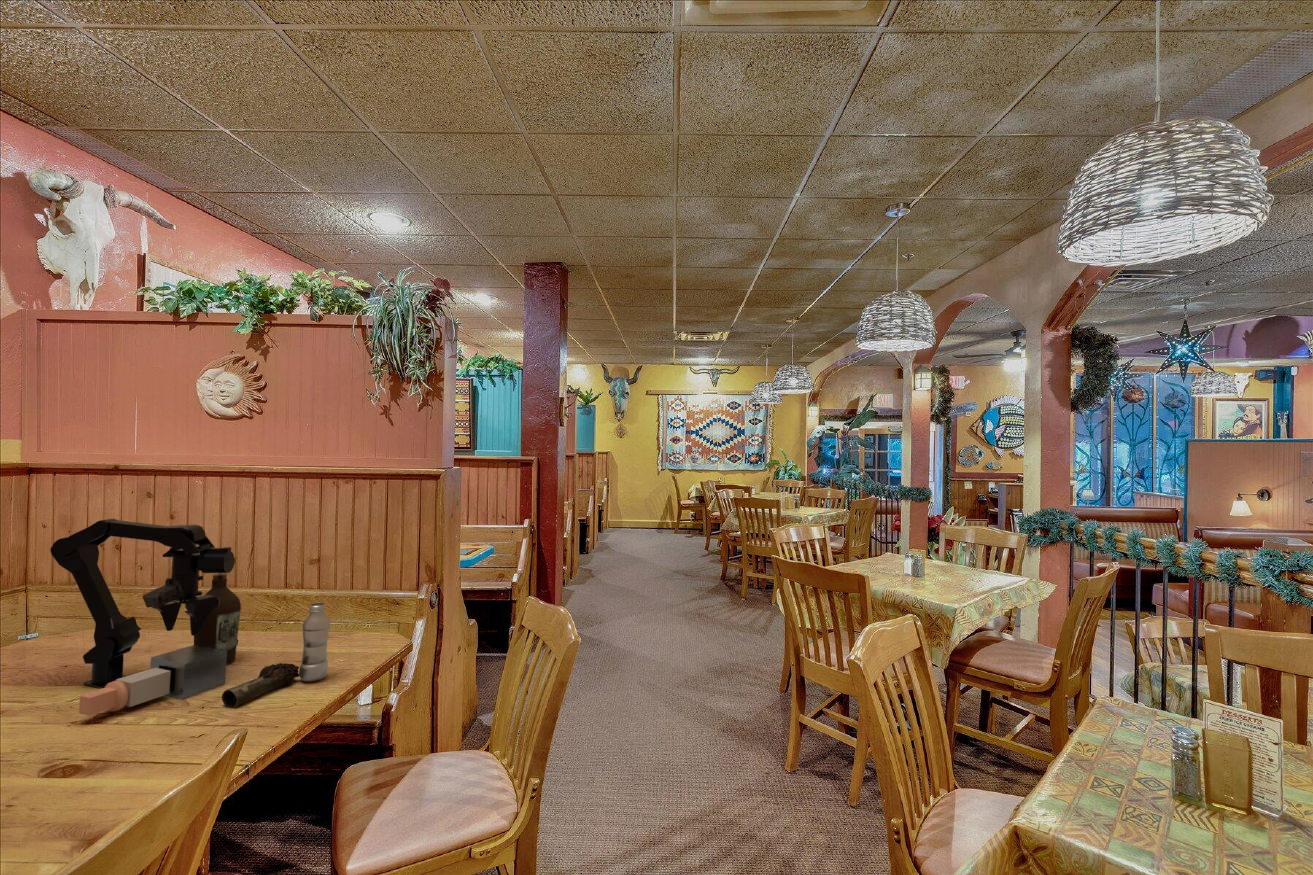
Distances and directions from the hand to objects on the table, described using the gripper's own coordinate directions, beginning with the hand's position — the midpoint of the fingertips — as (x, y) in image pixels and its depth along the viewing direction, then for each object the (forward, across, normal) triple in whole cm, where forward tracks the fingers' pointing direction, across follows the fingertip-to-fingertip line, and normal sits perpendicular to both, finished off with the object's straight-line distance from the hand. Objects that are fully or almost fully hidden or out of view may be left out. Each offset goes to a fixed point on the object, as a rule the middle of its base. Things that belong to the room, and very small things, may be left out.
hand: (181, 632), depth 148 cm
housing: (+12, +8, -3) cm, 15 cm away
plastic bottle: (+12, +32, +12) cm, 36 cm away
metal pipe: (+12, +27, +2) cm, 30 cm away
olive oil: (+12, -3, +11) cm, 17 cm away
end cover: (+11, +8, -16) cm, 21 cm away
